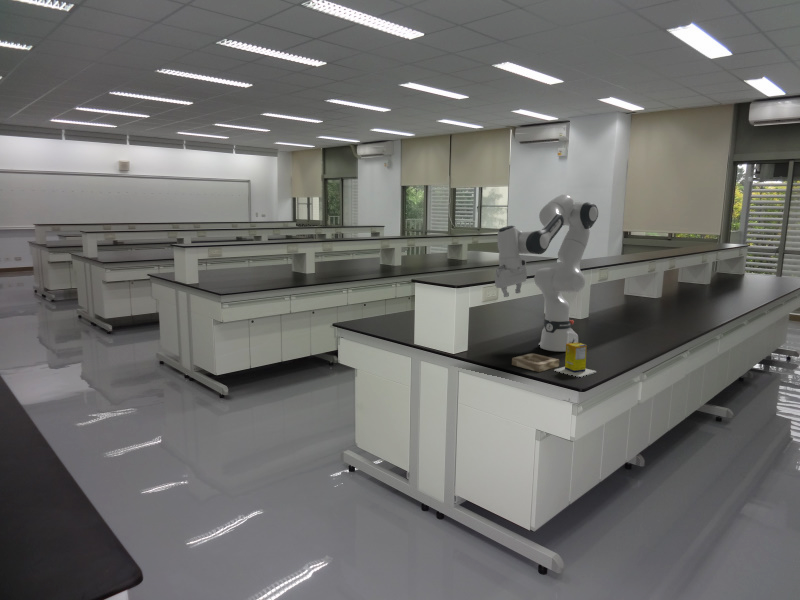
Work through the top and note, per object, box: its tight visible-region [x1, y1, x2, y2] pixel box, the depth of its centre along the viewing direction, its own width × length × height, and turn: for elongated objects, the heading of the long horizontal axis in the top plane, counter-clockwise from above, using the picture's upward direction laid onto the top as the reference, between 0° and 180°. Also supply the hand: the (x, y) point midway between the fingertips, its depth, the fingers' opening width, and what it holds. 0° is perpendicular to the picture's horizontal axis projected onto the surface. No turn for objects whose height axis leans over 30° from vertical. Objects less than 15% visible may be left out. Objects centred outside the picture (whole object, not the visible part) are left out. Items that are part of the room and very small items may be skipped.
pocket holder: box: [511, 352, 560, 373], centre depth 228 cm, size 14×14×3 cm
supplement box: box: [564, 341, 588, 372], centre depth 219 cm, size 6×6×11 cm
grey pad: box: [553, 366, 597, 378], centre depth 219 cm, size 12×12×1 cm
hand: (512, 295), depth 234 cm, fingers open, 8 cm apart
